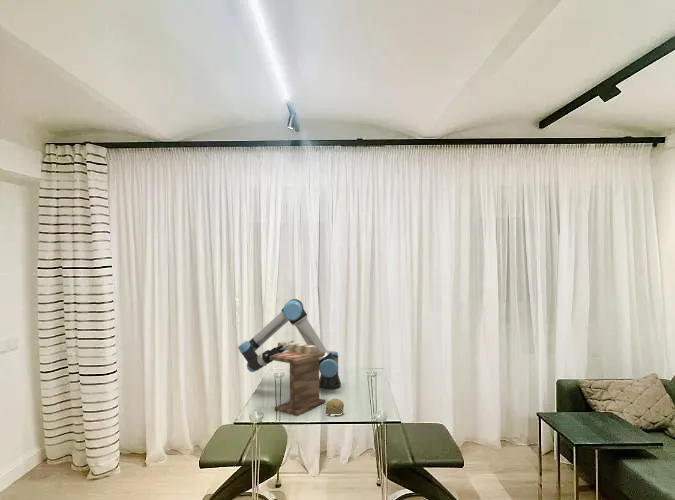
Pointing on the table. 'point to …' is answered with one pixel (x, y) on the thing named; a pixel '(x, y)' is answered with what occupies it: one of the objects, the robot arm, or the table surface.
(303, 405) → the stand
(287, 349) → the bar
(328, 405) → the rock
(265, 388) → the table surface
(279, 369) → the table surface
